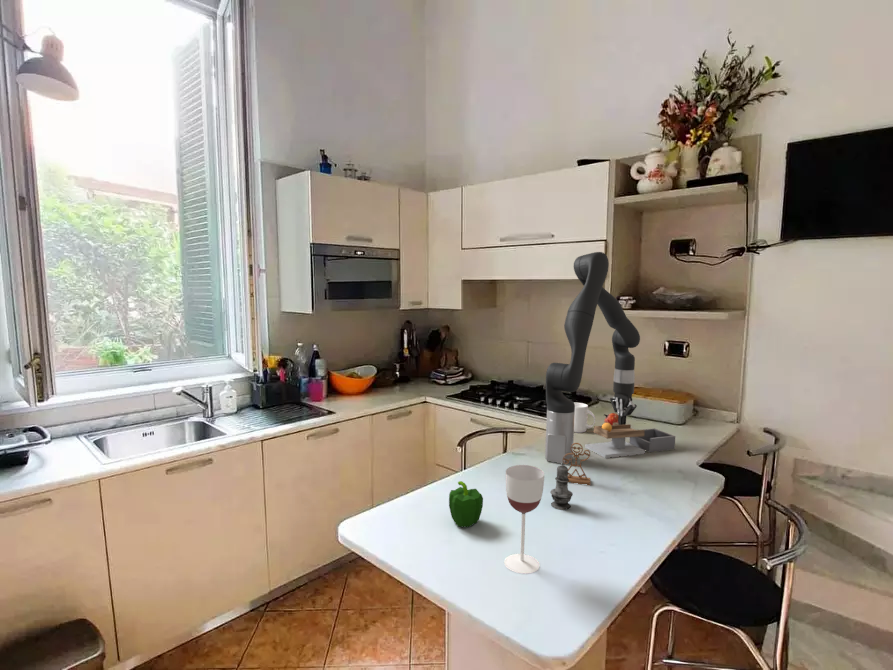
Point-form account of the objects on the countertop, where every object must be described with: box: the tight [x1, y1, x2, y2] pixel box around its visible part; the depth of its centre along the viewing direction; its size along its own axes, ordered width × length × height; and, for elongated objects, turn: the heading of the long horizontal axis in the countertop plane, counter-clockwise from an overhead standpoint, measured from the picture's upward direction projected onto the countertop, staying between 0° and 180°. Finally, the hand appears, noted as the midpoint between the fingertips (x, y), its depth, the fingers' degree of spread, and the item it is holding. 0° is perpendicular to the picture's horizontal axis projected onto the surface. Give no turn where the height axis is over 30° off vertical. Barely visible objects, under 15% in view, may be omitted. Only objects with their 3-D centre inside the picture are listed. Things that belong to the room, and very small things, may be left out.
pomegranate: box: [603, 412, 618, 425], centre depth 205 cm, size 7×7×10 cm
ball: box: [601, 422, 612, 432], centre depth 176 cm, size 4×4×4 cm
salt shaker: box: [550, 463, 574, 511], centre depth 131 cm, size 6×6×12 cm
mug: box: [573, 401, 596, 434], centre depth 202 cm, size 9×12×11 cm
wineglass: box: [503, 464, 545, 575], centre depth 103 cm, size 8×9×20 cm
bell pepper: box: [448, 480, 484, 528], centre depth 121 cm, size 8×8×10 cm
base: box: [584, 437, 646, 459], centre depth 178 cm, size 12×17×6 cm
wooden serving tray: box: [593, 423, 645, 440], centre depth 181 cm, size 15×16×2 cm
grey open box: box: [628, 428, 676, 453], centre depth 183 cm, size 11×12×5 cm
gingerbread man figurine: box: [563, 442, 591, 486], centre depth 148 cm, size 9×4×12 cm, turn 74°
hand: (621, 424), depth 188 cm, fingers closed
